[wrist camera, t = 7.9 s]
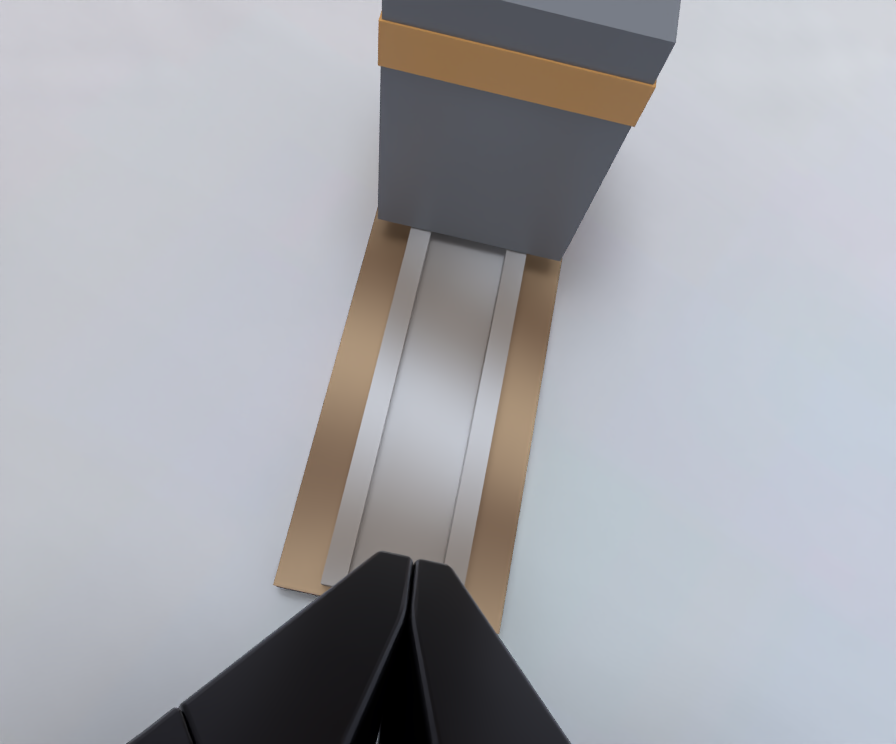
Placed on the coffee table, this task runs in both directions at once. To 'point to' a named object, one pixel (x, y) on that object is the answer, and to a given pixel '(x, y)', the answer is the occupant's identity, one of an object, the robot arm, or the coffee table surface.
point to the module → (510, 111)
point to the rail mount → (427, 414)
